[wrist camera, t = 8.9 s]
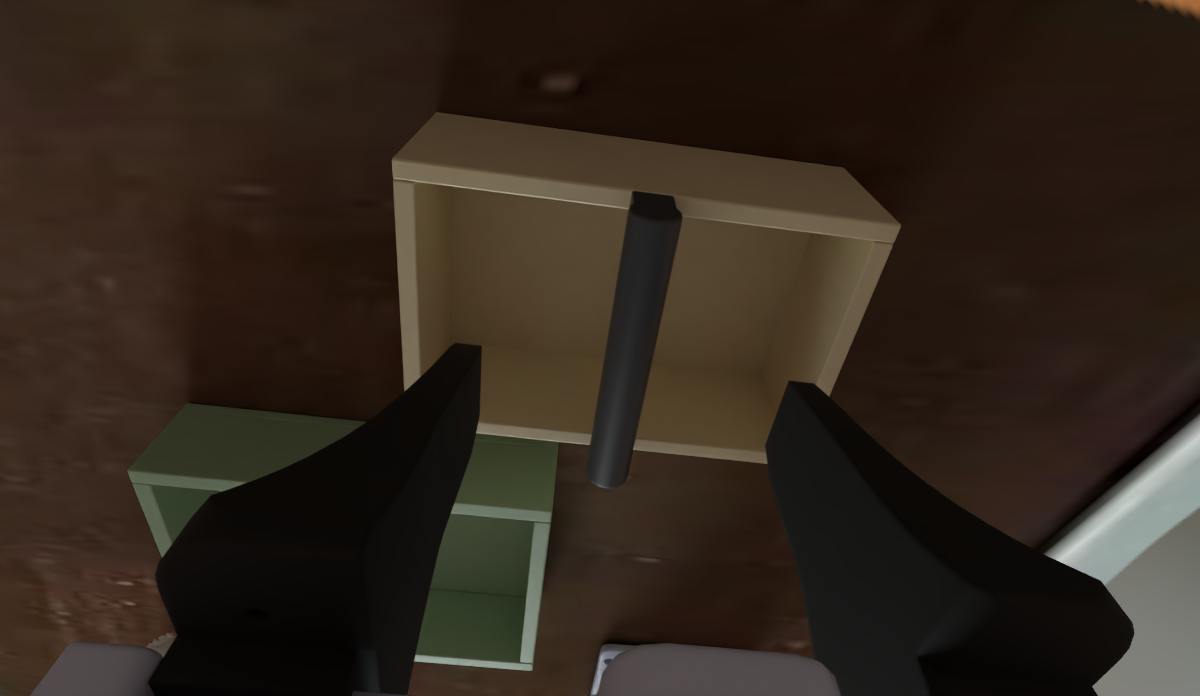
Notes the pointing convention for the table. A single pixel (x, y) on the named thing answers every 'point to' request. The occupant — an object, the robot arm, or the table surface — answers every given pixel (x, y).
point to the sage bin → (468, 548)
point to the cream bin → (629, 283)
